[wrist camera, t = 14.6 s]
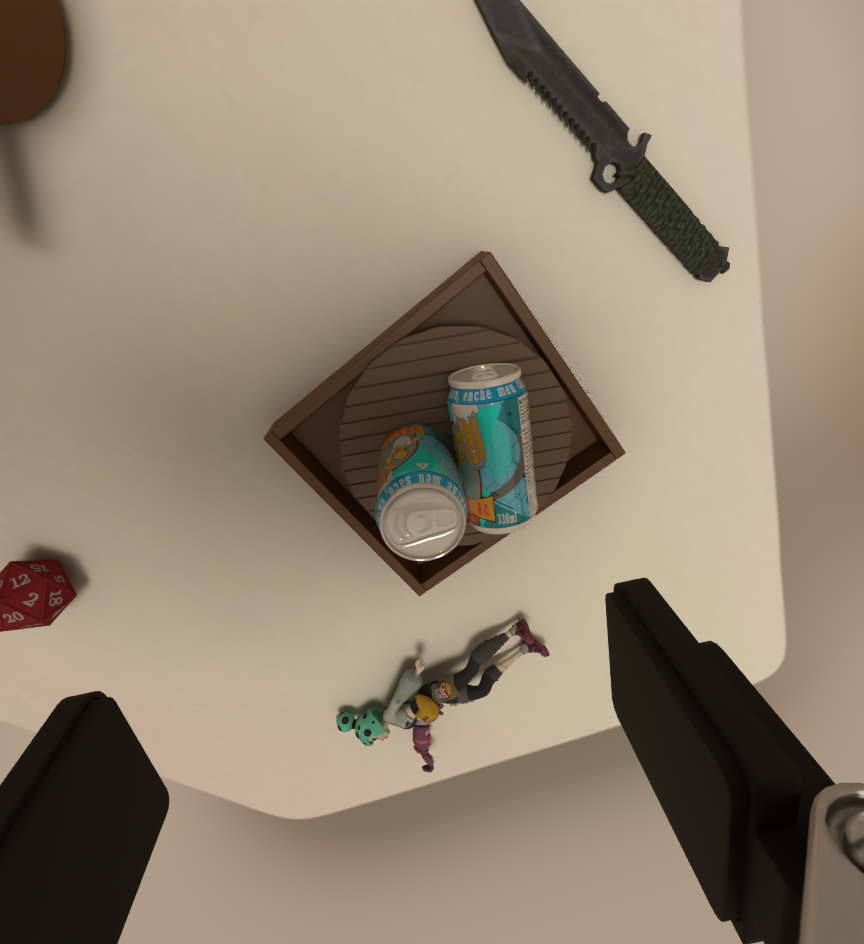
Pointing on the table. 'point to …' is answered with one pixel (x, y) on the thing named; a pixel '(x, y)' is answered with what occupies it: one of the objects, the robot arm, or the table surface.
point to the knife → (603, 135)
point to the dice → (33, 594)
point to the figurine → (437, 694)
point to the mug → (29, 56)
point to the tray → (453, 303)
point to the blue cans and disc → (453, 438)
